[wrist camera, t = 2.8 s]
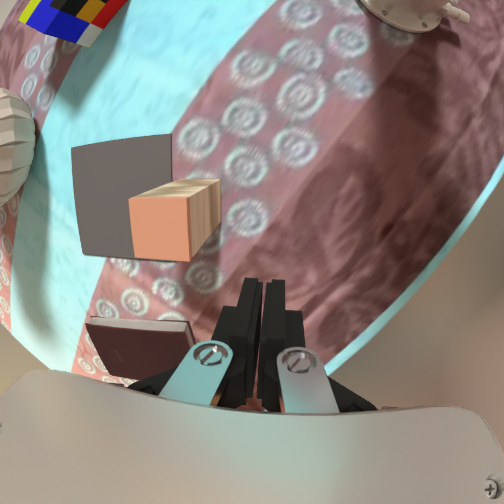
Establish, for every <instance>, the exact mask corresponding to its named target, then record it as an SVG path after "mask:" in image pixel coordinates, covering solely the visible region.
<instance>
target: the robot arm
mask: <svg viewBox="0 0 504 504" xmlns="http://www.w3.org/2000/svg"><path fill="white" fill-rule="evenodd" d="M360 1H361V2H362V4H363V5H364V6H365V7H366V8H367V9H368V10H369V11H370V12H372V13H373V14H374V15H375V16H377V17H378V18H380V19H381V20H383V21H384V22H386V23H388V24H390V25H392V26H394V27H396V28H398V29H401V30H404V31H408V32H412V33H425V32H428V31H431V30H433V29H434V28H436V27H437V26H438V25H439V23H440V21H441V18H442V15H444V16H446V17H449V16H451V17H453V18H454V19H456V20H458V21H460V22H462V23H464V24H468V23H469V21H470V16H469V14H468V13H466V12H464V11H462V10H460V9H458V8H455V7H453V6H451V4H453V5H457V4H458V0H360ZM450 3H451V4H450ZM262 290H263V282H258V278H245V279H244V283H243V286H242V290H241V293H240V297H239V300H238V304H237V307H233V306H223V308H222V311H221V314H220V316H219V319H218V322H217V325H216V327H215V330H214V333H213V336H212V339H211V340H210V341H203V342H199V343H197V344H196V345H194V346H193V347H192V348H191V349H190V350H189V352H188V353H187V355H186V356H185V358H184V359H183V360H182V362H181V363H180V365H179V366H177V367H174V368H172V369H169V370H167V371H164V372H161V373H159V374H156V375H154V376H151V377H148V378H146V379H143V380H140V381H137V382H135V383H133V384H131V385H129V386H128V387H124V384H117V383H106V382H103V381H99V380H96V379H92V378H89V377H85V376H82V375H79V374H74V373H70V372H66V371H59V370H34V371H30V372H27V373H25V374H24V375H22V376H21V377H19V378H18V379H17V380H16V381H15V382H13V383H12V384H11V385H10V387H8V389H6V391H5V392H4V393H3V394H2V395H1V396H0V504H504V454H503V452H502V449H501V447H500V445H499V443H498V441H497V439H496V437H495V435H494V433H493V432H492V430H491V428H490V427H489V425H488V424H487V422H486V421H485V420H484V419H483V418H482V417H481V416H480V415H479V414H478V413H476V412H475V411H473V410H470V409H467V408H463V407H456V406H449V405H447V406H446V405H430V406H417V407H409V408H397V407H382V409H377V408H376V407H375V406H374V405H373V404H371V403H370V402H369V401H367V400H365V399H364V398H362V397H360V396H359V395H357V394H355V393H354V392H352V391H350V390H349V389H347V388H346V387H344V386H342V385H341V384H339V383H338V382H336V381H335V380H333V379H331V378H330V377H328V376H327V375H326V372H325V369H324V366H323V364H322V361H321V359H320V357H319V355H318V354H317V353H315V352H314V351H312V350H310V349H308V348H305V338H304V327H303V316H302V311H293V310H285V280H275V279H272V283H268V282H267V285H266V293H265V301H264V310H263V318H262V326H261V311H262ZM260 332H261V334H260ZM259 343H260V347H259ZM258 351H259V366H258V384H257V398H258V399H262V407H264V408H265V409H266V410H267V411H269V412H266V411H253V410H242V409H236V408H237V407H239V406H241V405H246V400H247V398H252V396H253V389H254V381H255V374H256V366H257V359H258Z"/></svg>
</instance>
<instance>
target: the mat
mask: <svg viewBox="0 0 504 504" xmlns="http://www.w3.org/2000/svg"><path fill="white" fill-rule="evenodd" d="M71 158H72V176H73V188H74V198H75V207H76V215H77V222H78V229H79V235H80V241H81V247H82V252H83V254H89V255H100V256H112V257H123V258H136V257H135V254H134V247H133V239H132V231H131V221H130V211H129V199H130V198H132V197H134V196H137V195H139V194H142V193H144V192H147V191H149V190H152V189H155V188H157V187H160V186H162V185H165V184H168V183H171V182H172V134H162V135H152V136H142V137H134V138H126V139H119V140H112V141H106V142H99V143H94V144H88V145H83V146H78V147H73V148H71ZM136 259H148V260H161V261H174V262H176V261H175V260H162V259H149V258H136Z"/></svg>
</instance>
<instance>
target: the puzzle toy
mask: <svg viewBox="0 0 504 504" xmlns="http://www.w3.org/2000/svg"><path fill="white" fill-rule="evenodd" d="M126 1H127V0H31V1H30V2H29V4H28V5H27V7H26V8H25V10H24V11H23V13H22V15H21V16H20V18H19V19H18V20H19V21H21V22H23V23H25V24H27V25H29V26H30V27H32V28H34V29H36V30H38V31H40V32H41V33H43V34H46V35H50V36H53V37H57V38H60V39H63V40H67V41H70V42H73V43H76V44H79V45H82V46H85V47H88V48H90V47H91V46H92V44H93V43H94V41H95V40H96V39H97V37H98V36H99V34H100V33H101V32H102V30H103V29H104V28H105V26H106V25H107V24H108V23H109V21H110V20H111V19H112V18H113V16H114V15H115V14H116V13H117V12H118V10H119V9H120V8H121V7H122V6H123V5H124V3H125V2H126Z"/></svg>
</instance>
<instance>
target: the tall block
mask: <svg viewBox="0 0 504 504" xmlns="http://www.w3.org/2000/svg"><path fill="white" fill-rule="evenodd" d="M129 211H130V221H131V231H132V239H133V247H134V254H135V257H136V258H149V259H162V260H175V261H189V262H190V261H191V259H192V258H193V257H194V255H195V254H196V253H197V251H198V250H199V249H200V248H201V246H202V245H203V244H204V242H205V241H206V240H207V239H208V237H209V236H210V235H211V234H212V232H213V231H214V230H215V228H216V227H217V226H218V225H219V223H220V222H221V179H179V180H176V181H173V182H171V183H168V184H165V185H162V186H160V187H157V188H155V189H152V190H149V191H147V192H144V193H142V194H139V195H137V196H134V197H132V198H130V199H129Z"/></svg>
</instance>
